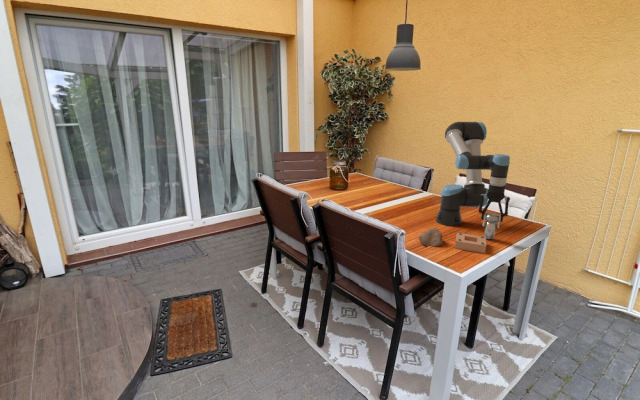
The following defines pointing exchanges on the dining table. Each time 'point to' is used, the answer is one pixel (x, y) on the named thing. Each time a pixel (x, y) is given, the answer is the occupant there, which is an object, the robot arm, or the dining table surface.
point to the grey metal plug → (490, 225)
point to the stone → (431, 237)
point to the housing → (470, 242)
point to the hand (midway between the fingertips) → (490, 226)
